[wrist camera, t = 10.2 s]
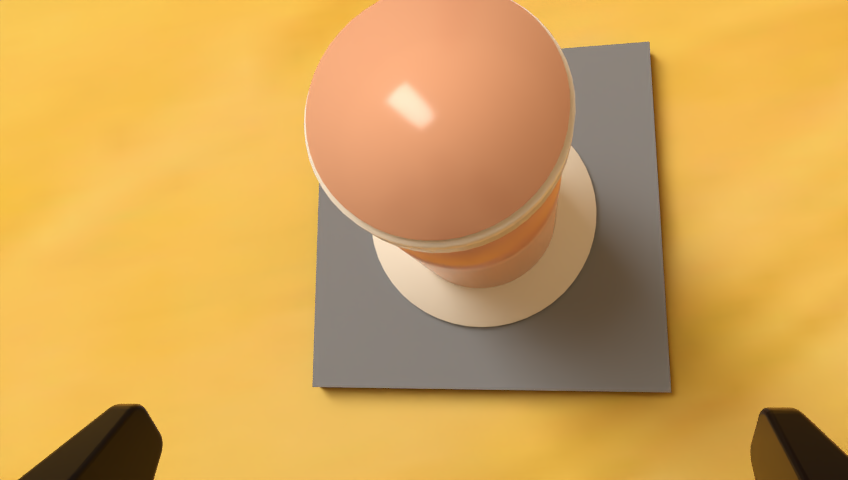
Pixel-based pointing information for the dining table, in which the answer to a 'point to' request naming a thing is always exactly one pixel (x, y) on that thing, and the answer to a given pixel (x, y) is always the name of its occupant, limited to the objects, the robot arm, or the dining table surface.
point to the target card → (532, 292)
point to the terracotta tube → (446, 133)
